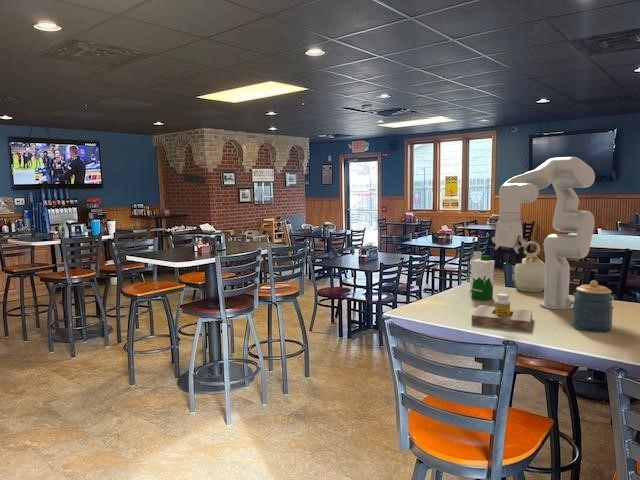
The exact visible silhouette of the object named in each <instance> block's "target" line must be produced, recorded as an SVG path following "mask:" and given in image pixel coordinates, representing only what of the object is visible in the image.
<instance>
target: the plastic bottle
mask: <svg viewBox="0 0 640 480" xmlns="http://www.w3.org/2000/svg"><path fill="white" fill-rule="evenodd" d="M481 255H483V254H482V251H480V250H473V257H471V259H470V261H469V263H470V270H471V271H470V272H471V273H470V280H469V289H470V290H471V291H472V277H473V267H472V260H477V259H481Z"/></svg>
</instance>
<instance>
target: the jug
mask: <svg viewBox="0 0 640 480" xmlns="http://www.w3.org/2000/svg"><path fill="white" fill-rule="evenodd" d="M527 242H528V244H527V247H526V249H525V250H524V253H523V254H524V255H526V257H524V258H523V257H522V263H520V264H515V267H514V273H513V274H514V281H515V286H516V289H517V290H518V291H522V292H529V293H532V292H533V293H539V292H541V293H542V292H544V283H545V262H543V260H542V259H540V258H539V257H538V255H539V253H540V251H541V247H540V245H539V243H538V242H536V241H534V240H533V241H532V240H531V241H527ZM530 245H534V246H535V247H536V251H535V252H533V253H530V252H528V251H527V248H528V246H530Z"/></svg>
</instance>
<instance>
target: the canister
mask: <svg viewBox="0 0 640 480" xmlns="http://www.w3.org/2000/svg"><path fill="white" fill-rule="evenodd" d="M575 290H576V291H575V292H573V294H572V295H573V298H574V299H573V300H574V302H573V304H572V317H571V324H572V325H571V326H572V327H573V328H575V329H577V330H582V331H586V332H591V333H592V332H594V333H608V332H610V331H612V328H613V315H614V314H613V313H614V312H613V311H614V306H613V301H614V300H615V297H614V296H612V295H611V293H613V292H612V290H611V289H609V288H608V286H607V287H606V286H605V285H599V283H598V281H597V280H594V279H593V280H591V281H590V282H589V284H581V285H580V286H577V287H576V288H575Z"/></svg>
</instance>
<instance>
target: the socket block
mask: <svg viewBox="0 0 640 480" xmlns="http://www.w3.org/2000/svg"><path fill="white" fill-rule="evenodd" d="M533 312H534V311H533V310H530V309H523V308H522V309H521V308H511V307H510V316H507V315H498V314H495V306H492V305H491V306H489V305H480V304H479V305H478V306H477V307H476V309H475V310H474V312H472V314H471V325H475V326H476V325H477V326H484V327H491V328H500V329H507V330H508V329H509V330H518V331H524V332H530V330H531V326H532V321H533Z"/></svg>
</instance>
